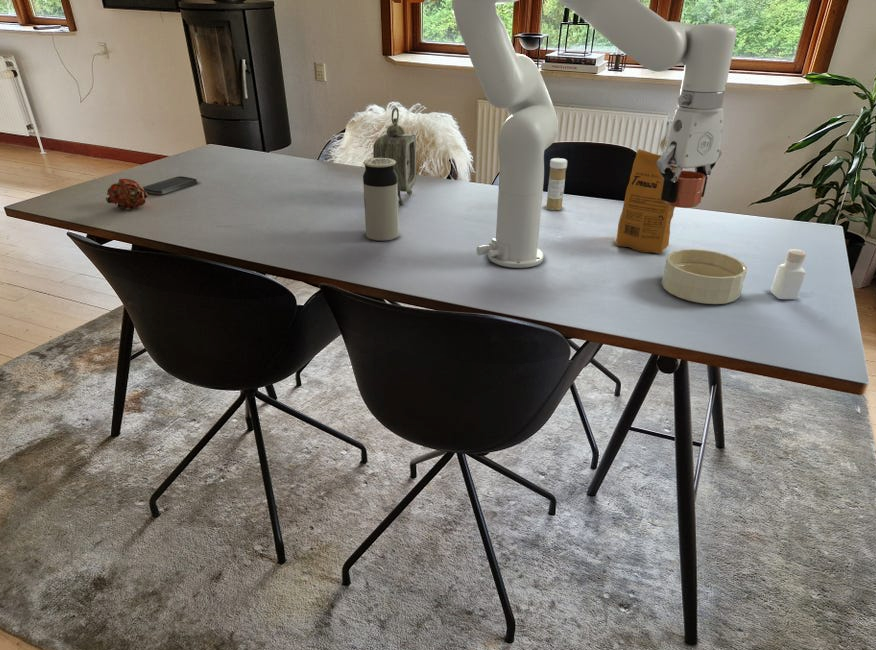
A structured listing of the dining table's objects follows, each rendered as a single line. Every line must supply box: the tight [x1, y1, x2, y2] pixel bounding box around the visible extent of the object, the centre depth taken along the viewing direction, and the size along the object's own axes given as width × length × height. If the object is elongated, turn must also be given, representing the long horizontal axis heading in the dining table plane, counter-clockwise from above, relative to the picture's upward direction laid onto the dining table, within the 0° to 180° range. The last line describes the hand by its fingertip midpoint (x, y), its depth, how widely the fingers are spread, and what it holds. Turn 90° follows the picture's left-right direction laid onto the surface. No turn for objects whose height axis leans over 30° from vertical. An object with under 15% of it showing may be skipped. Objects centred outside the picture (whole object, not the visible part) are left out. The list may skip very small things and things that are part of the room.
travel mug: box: [362, 157, 400, 242], centre depth 149 cm, size 8×8×18 cm
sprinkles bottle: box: [545, 157, 568, 211], centre depth 172 cm, size 5×5×14 cm
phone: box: [141, 175, 198, 196], centre depth 187 cm, size 8×1×15 cm
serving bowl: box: [661, 248, 748, 305], centre depth 128 cm, size 15×15×6 cm
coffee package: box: [615, 148, 676, 254], centre depth 146 cm, size 10×12×22 cm
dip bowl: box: [664, 169, 706, 209], centre depth 121 cm, size 7×7×6 cm
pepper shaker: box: [770, 248, 807, 300], centre depth 125 cm, size 4×4×10 cm
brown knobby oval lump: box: [105, 178, 149, 211], centre depth 168 cm, size 8×8×12 cm
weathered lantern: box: [372, 106, 417, 207], centre depth 174 cm, size 14×9×25 cm, turn 171°
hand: (682, 197), depth 122 cm, fingers closed on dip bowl, 7 cm apart
